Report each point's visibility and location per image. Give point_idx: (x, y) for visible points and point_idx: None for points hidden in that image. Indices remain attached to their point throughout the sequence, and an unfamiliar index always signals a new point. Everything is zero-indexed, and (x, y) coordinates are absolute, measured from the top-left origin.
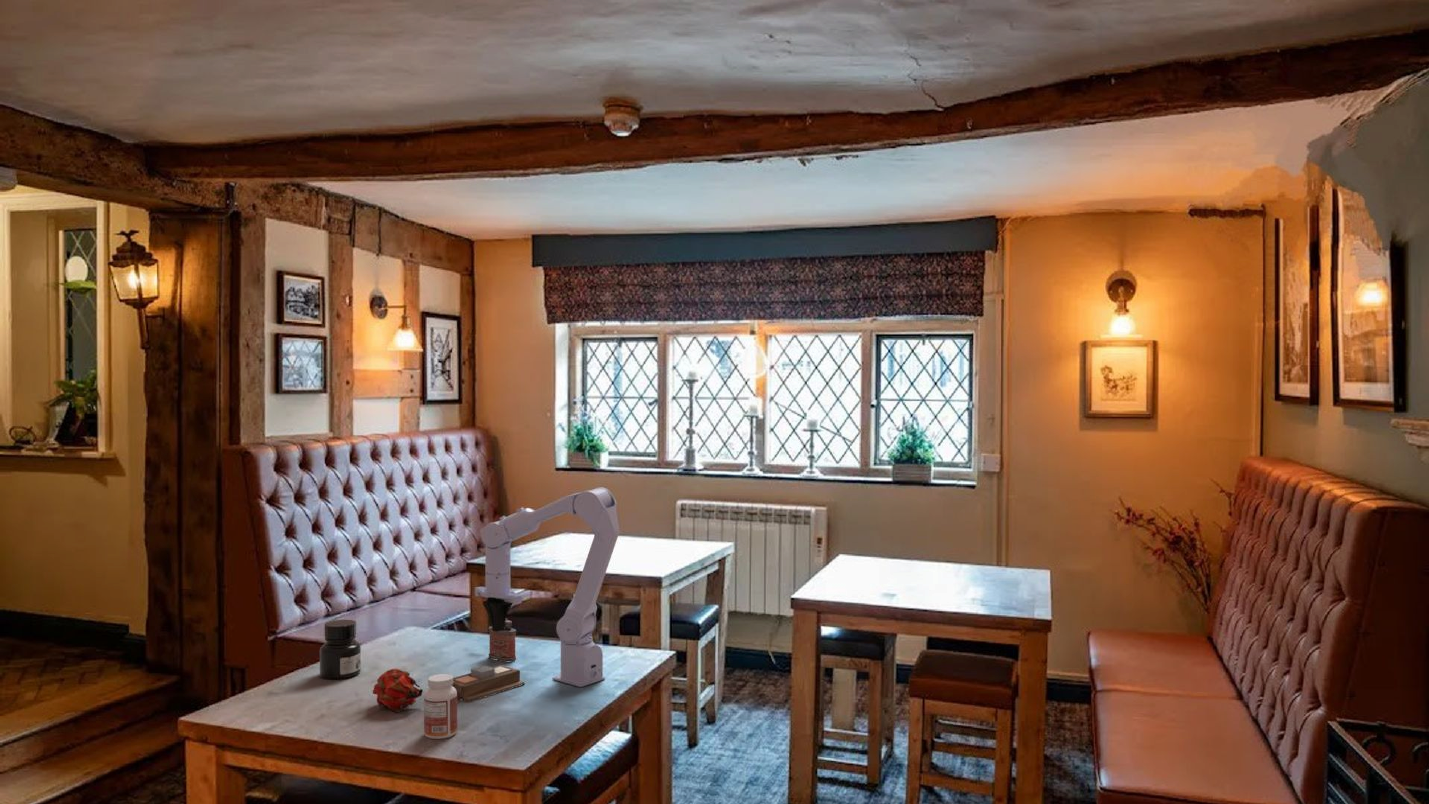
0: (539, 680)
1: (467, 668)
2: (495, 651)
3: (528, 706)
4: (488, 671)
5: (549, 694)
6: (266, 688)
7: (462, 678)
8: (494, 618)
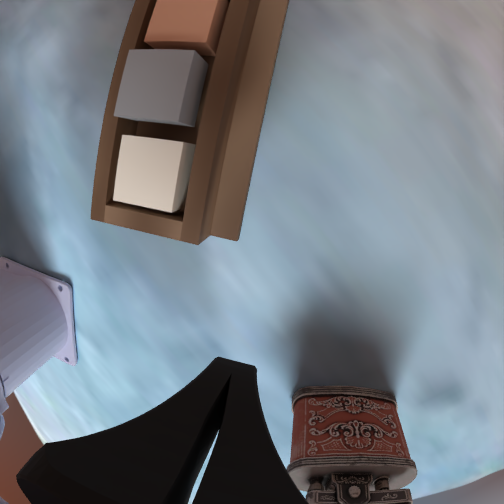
0: (93, 266)
1: (400, 275)
2: (365, 407)
3: (14, 82)
4: (122, 84)
5: (16, 177)
6: None
7: (201, 9)
8: (184, 406)
